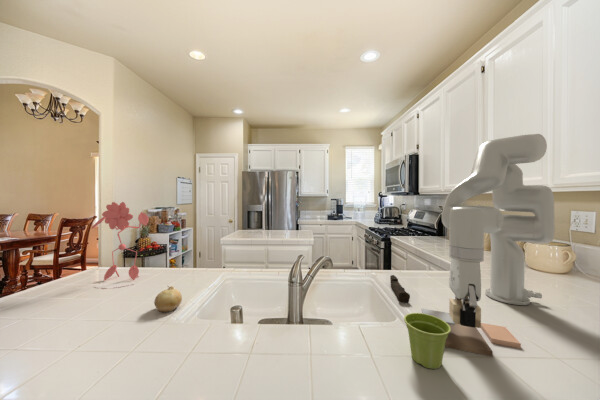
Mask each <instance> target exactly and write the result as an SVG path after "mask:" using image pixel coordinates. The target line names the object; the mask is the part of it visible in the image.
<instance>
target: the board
mask: <svg viewBox="0 0 600 400" xmlns="http://www.w3.org/2000/svg"><path fill="white" fill-rule="evenodd" d="M448 325H449V326H450V328H451V331H450V333H449V334H448V337H447V339H446V342H445V347H444V348H449V349H454V350H460V351H464V352H469V353H474V354H479V355H483V356H489V357H493V356H494V355H493V354H494V351H493V350H492V348H491V347H490V345H489V344H488V342H487V341H486V340H485V338H484V337H483V336H482V334H481V333H480V331H479V330H478V328H477V327H474V328H473V327H468V326H462V325H460V324H455V325H450V324H448Z"/></svg>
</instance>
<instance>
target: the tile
mask: <svg viewBox="0 0 600 400" xmlns="http://www.w3.org/2000/svg"><path fill="white" fill-rule="evenodd" d="M480 329H481V331H482V332H483V334H484V335H485V336H486V337H487V338H488V340H489V341H490V343H491V344H497V345H503V346H507V347H513V348H517V349H521V348H522V343H521V342H520V341H519V340H518V339H517V338H516V337H515V336H514V335H513V333H511V331H510V330H509V329H508V328H507V327H506V326H503V325H496V324H490V323H484V322H481V328H480Z"/></svg>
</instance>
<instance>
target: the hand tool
mask: <svg viewBox="0 0 600 400" xmlns="http://www.w3.org/2000/svg"><path fill="white" fill-rule="evenodd" d="M389 278H390V280H389V281H390V282H389V283H390V287H391V289H393V291H394V293H395V295H396V296H397V301H398V302H399V301H400V302H399V303H403V302H404V304H406V303H407V304H408V303H409V302H410V298H411V294H410V293H409V292H407V290H405V287H403V286H402V285H401V283H400V282H399V278H398V277H397V276H395V275H394V274H391V275H390V277H389Z"/></svg>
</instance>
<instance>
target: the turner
mask: <svg viewBox="0 0 600 400" xmlns="http://www.w3.org/2000/svg"><path fill="white" fill-rule="evenodd" d="M468 302H469V301H465V305H466V303H468ZM448 307H449V312H445V311H438V310H433V309H428V308H421V312H422V313H423V314H428V315H432V316H435V317H437V318H439V319H441V320H443V321H445V322H446V323H447V324H450V325H455V324H460V309H462V303H461V300H457V299H455V298H449V306H448ZM481 321H482V308H481V307H480V305H479V304H477V308H476V322H475V327H476V328H477V329H478V328H479V329H481V323H482V322H481ZM460 325H461V324H460Z"/></svg>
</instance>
